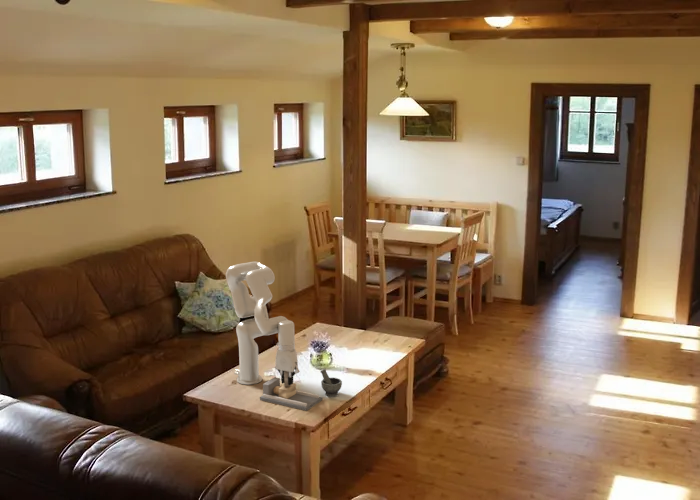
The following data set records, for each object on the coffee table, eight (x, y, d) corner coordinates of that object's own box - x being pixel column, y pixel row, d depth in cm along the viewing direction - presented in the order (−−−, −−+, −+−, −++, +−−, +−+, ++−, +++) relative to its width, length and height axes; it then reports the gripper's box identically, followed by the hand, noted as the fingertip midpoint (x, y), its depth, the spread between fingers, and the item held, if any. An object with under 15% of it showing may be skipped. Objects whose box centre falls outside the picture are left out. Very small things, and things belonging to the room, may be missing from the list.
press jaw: (278, 398, 372) (278, 366, 369) (289, 391, 380) (288, 360, 376) (285, 400, 370) (285, 368, 367) (296, 393, 378) (295, 361, 374)
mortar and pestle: (345, 393, 382) (345, 370, 379) (333, 400, 374) (333, 376, 372) (327, 388, 388) (326, 365, 386) (315, 394, 381) (315, 371, 378)
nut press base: (260, 400, 375) (259, 385, 373) (276, 389, 387) (276, 375, 385) (306, 410, 362) (306, 395, 361) (322, 400, 374) (321, 385, 373)
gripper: (267, 346, 370) (268, 383, 374) (297, 351, 363) (297, 389, 367) (276, 341, 377) (277, 377, 381) (305, 347, 369) (306, 383, 373)
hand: (287, 383), depth 374 cm, fingers closed on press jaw, 3 cm apart
